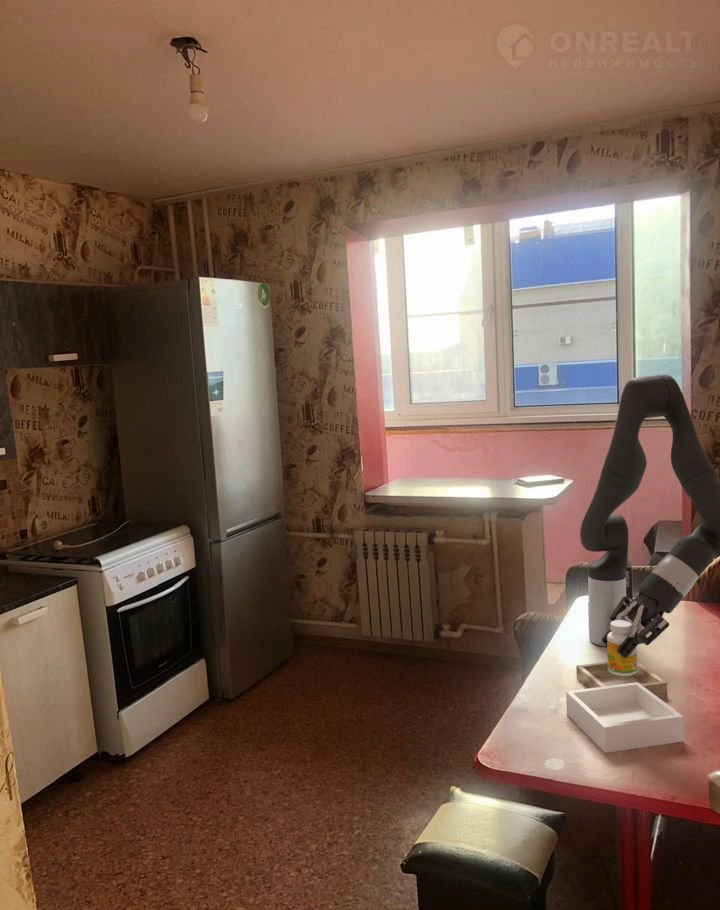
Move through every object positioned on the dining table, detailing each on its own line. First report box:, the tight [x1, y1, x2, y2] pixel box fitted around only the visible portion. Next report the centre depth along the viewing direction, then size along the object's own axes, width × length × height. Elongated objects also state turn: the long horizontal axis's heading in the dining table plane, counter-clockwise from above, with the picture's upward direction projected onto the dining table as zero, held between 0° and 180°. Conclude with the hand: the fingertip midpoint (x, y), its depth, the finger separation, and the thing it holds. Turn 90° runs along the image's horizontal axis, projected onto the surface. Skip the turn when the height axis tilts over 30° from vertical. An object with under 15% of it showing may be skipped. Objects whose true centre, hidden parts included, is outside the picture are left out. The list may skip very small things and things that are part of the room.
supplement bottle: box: [606, 620, 638, 677], centre depth 144 cm, size 5×5×10 cm
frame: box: [575, 661, 668, 698], centre depth 164 cm, size 14×14×3 cm
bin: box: [565, 681, 684, 754], centre depth 145 cm, size 16×16×5 cm
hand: (613, 649), depth 144 cm, fingers closed on supplement bottle, 5 cm apart
